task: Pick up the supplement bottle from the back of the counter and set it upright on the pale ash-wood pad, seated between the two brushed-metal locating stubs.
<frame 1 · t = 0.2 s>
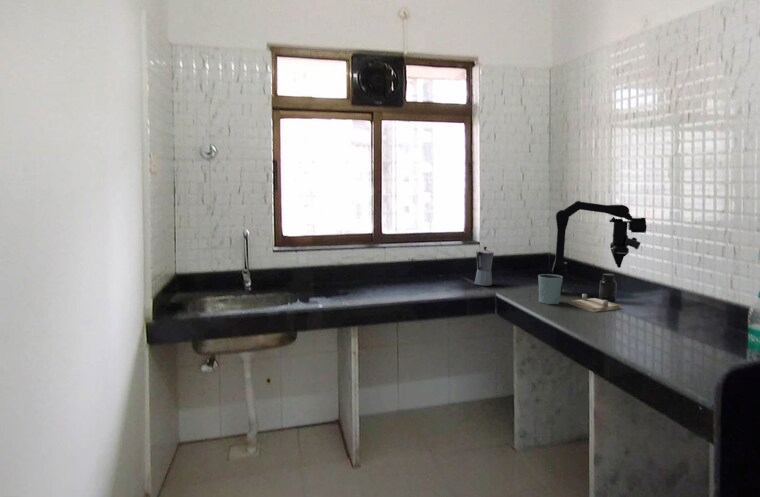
hand: (618, 265, 227), 14 cm above the counter, fingers open, 9 cm apart
moka pot: (483, 285, 257), on the counter
supplement bottle: (607, 301, 220), on the counter
locating pad: (594, 306, 210), on the counter
teal tapered cup: (549, 302, 218), on the counter
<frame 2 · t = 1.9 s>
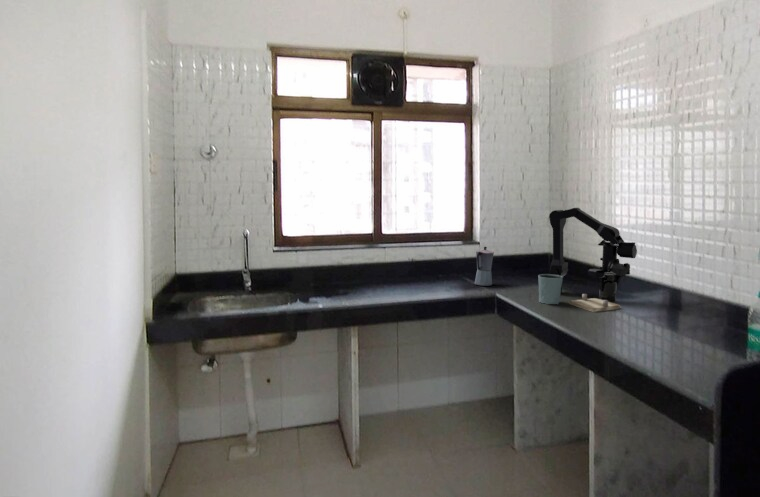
hand: (607, 290, 219), 5 cm above the counter, fingers closed on supplement bottle, 7 cm apart
supplement bottle: (607, 301, 220), on the counter, touching gripper
everything else where it was.
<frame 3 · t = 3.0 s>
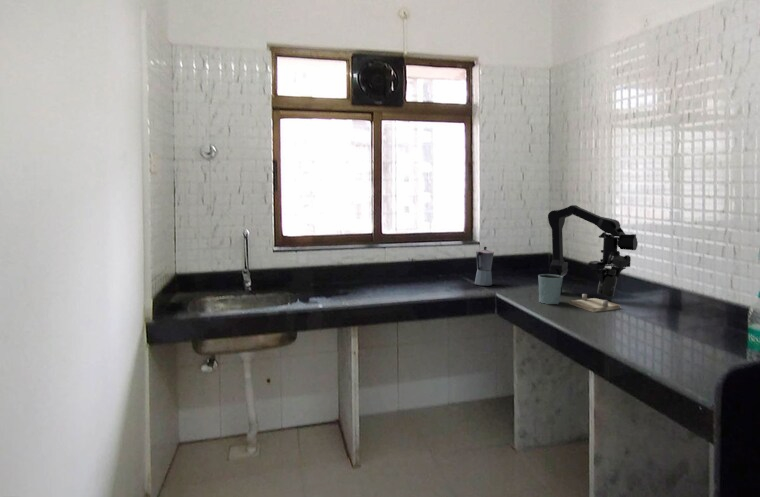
hand: (608, 283, 219), 8 cm above the counter, fingers closed on supplement bottle, 7 cm apart
supplement bottle: (605, 295, 219), point 2 cm above the counter, touching gripper
everything else where it was.
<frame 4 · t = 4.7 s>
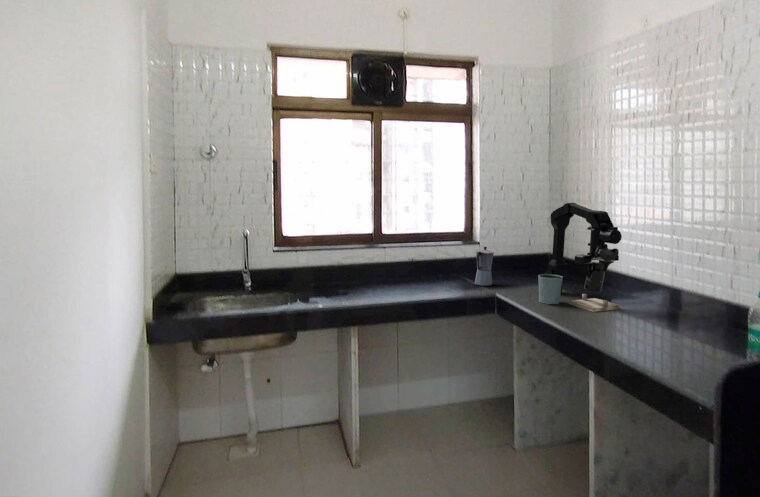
hand: (595, 277, 209), 12 cm above the counter, fingers closed on supplement bottle, 7 cm apart
supplement bottle: (592, 290, 209), point 7 cm above the counter, touching gripper
everything else where it was.
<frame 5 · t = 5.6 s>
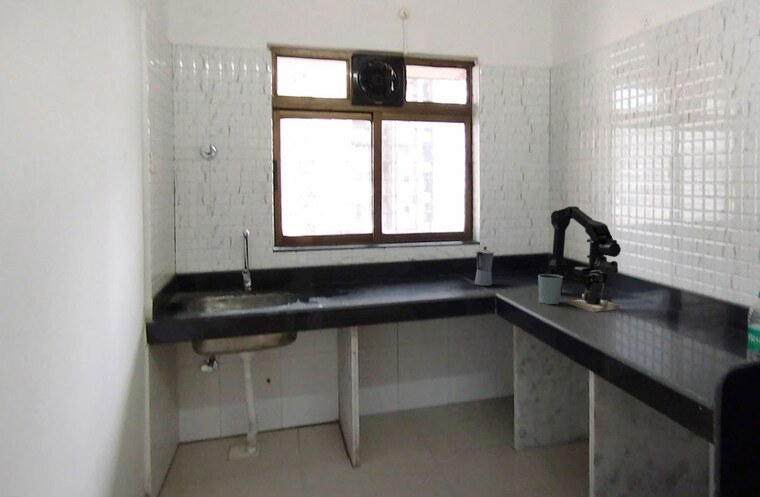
hand: (594, 289, 209), 7 cm above the counter, fingers closed on supplement bottle, 6 cm apart
supplement bottle: (591, 302, 210), point 2 cm above the counter, touching gripper, locating pad
everything else where it was.
when the fingers open (7 cm above the counter, at t = 6.1 s): supplement bottle stays where it is, resting on locating pad.
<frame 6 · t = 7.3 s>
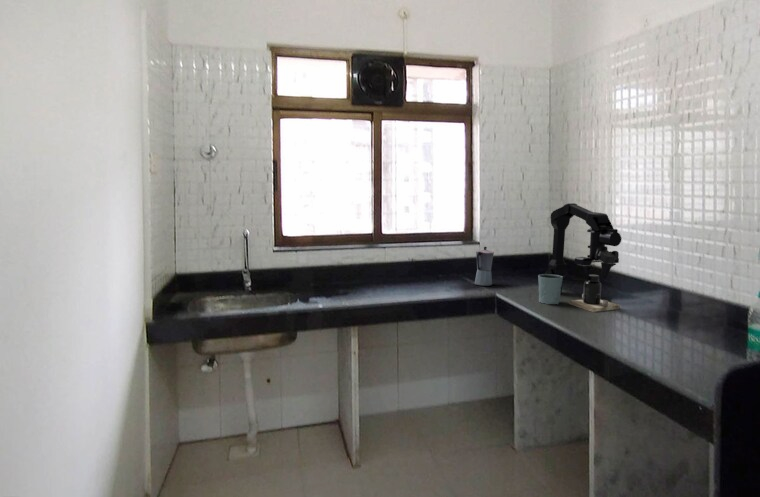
hand: (595, 280, 208), 11 cm above the counter, fingers open, 9 cm apart
supplement bottle: (591, 303, 210), point 1 cm above the counter, touching locating pad
everything else where it was.
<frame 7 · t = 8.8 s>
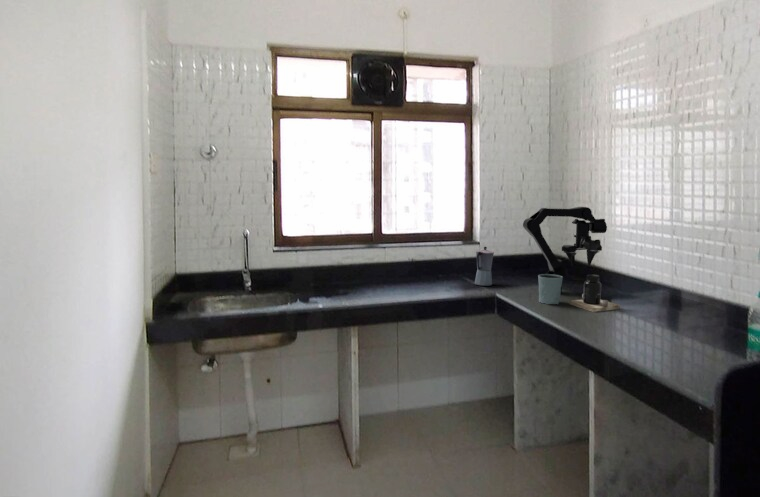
hand: (581, 265, 235), 13 cm above the counter, fingers open, 9 cm apart
nothing on the counter moved.
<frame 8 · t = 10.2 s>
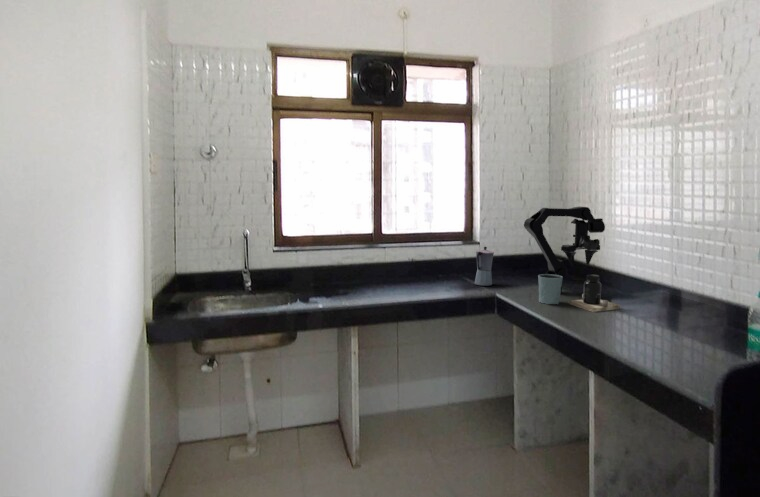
hand: (580, 265, 237), 13 cm above the counter, fingers open, 9 cm apart
nothing on the counter moved.
at the end: supplement bottle 1.2 cm off-centre on the locating pad, point 1.3 cm above the locating pad's base; supplement bottle tilted 0°; the gripper is holding nothing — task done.
